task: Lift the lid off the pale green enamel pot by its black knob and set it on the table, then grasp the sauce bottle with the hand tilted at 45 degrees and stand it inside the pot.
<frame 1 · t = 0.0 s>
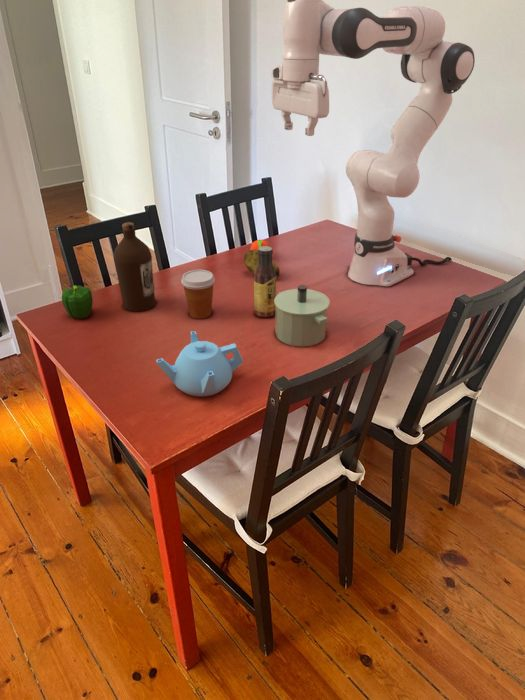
hand: (298, 132, 137), 48 cm above the table, tool pointing down, fingers open, 8 cm apart
lid: (301, 302, 140), point 9 cm above the table, touching pot
pot: (300, 333, 145), on the table
bell pepper: (80, 315, 154), on the table
disposable coffee cup: (200, 314, 155), on the table
sauce bottle: (265, 313, 155), on the table
teapot: (202, 382, 126), on the table
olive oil: (139, 305, 160), on the table
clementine: (260, 259, 189), on the table
potato: (261, 276, 177), on the table
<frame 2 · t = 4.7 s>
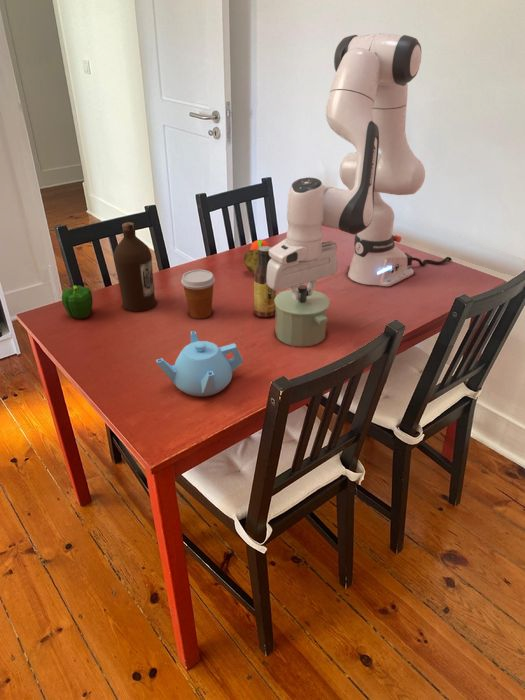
hand: (302, 296, 139), 11 cm above the table, tool pointing down, fingers closed on lid, 2 cm apart
lid: (301, 302, 140), point 10 cm above the table, touching gripper, pot
everything else where it was.
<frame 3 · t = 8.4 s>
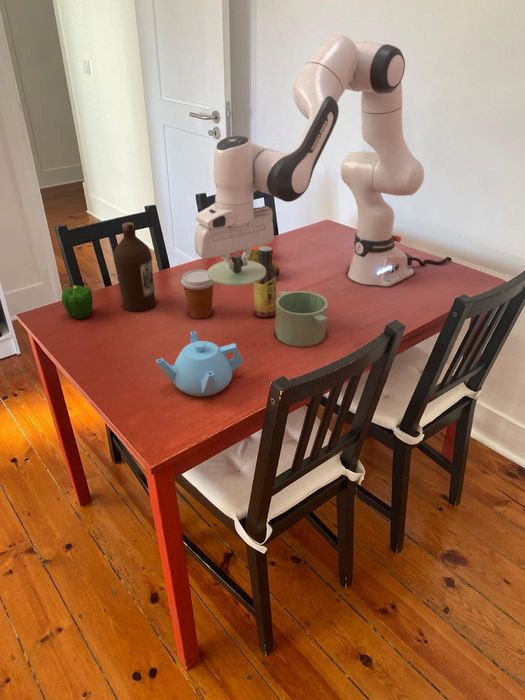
hand: (236, 267, 131), 21 cm above the table, tool pointing down, fingers closed on lid, 2 cm apart
lid: (237, 272, 132), point 20 cm above the table, touching gripper
everything else where it was.
when the fingers open (2 cm above the table, at t = 12.6 s): lid stays where it is, point 1 cm above the table.
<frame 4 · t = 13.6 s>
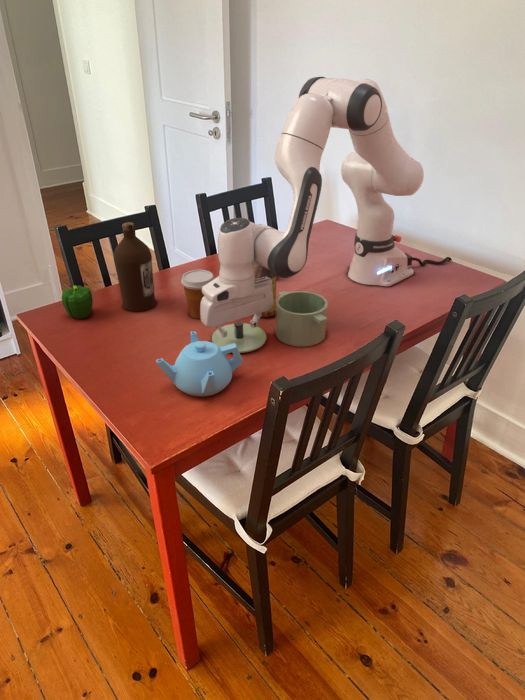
hand: (238, 331, 141), 3 cm above the table, tool pointing down, fingers open, 8 cm apart
lid: (239, 338, 142), point 1 cm above the table
everything else where it was.
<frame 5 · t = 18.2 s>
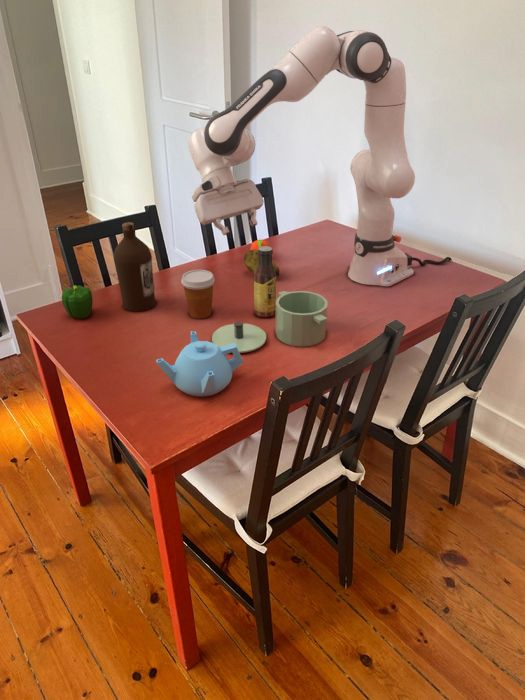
hand: (240, 229, 150), 22 cm above the table, tool tilted 40°, fingers open, 8 cm apart
nothing on the table moved.
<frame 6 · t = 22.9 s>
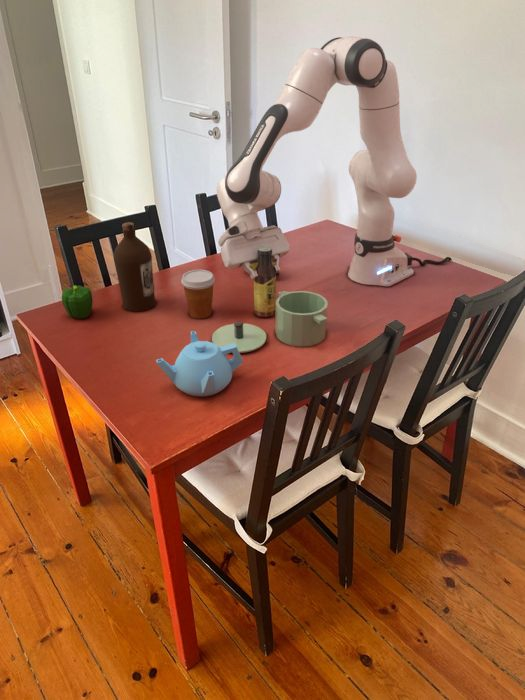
hand: (266, 275, 148), 12 cm above the table, tool tilted 45°, fingers closed on sauce bottle, 6 cm apart
sauce bottle: (265, 313, 155), on the table, touching gripper
everything else where it was.
when the fingers open (13 cm above the table, at t = 32.3 s): sauce bottle stays where it is, resting on pot.
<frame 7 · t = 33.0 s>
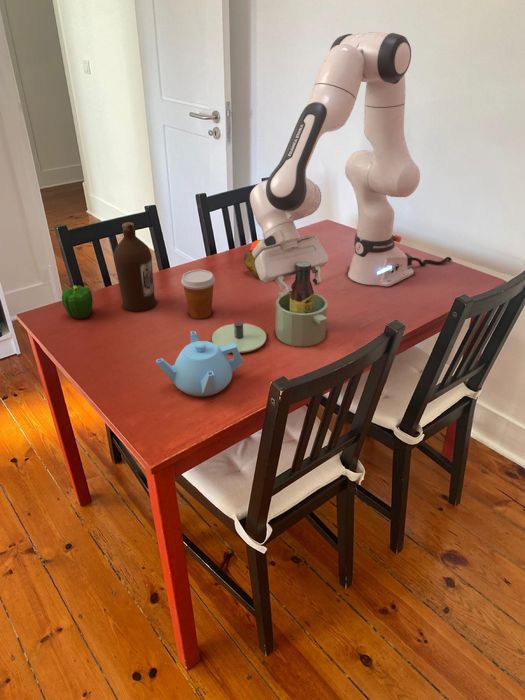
hand: (303, 288, 137), 14 cm above the table, tool tilted 45°, fingers open, 8 cm apart
sauce bottle: (300, 332, 145), resting on pot
everything else where it was.
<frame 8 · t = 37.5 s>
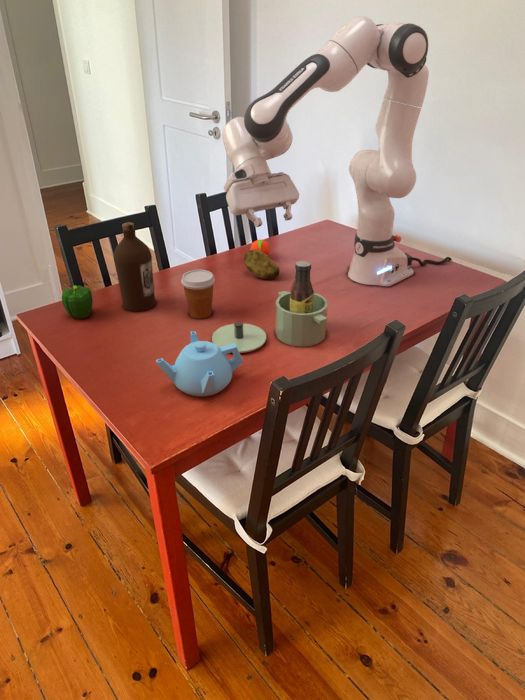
hand: (274, 222, 140), 27 cm above the table, tool tilted 45°, fingers open, 8 cm apart
nothing on the table moved.
at the end: lid inside the target area (0.1 cm from its centre), point 0.6 cm above the table; sauce bottle inside the target area in the pot (0.1 cm from its centre), point 0.3 cm above the pot's base; the gripper is holding nothing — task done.
